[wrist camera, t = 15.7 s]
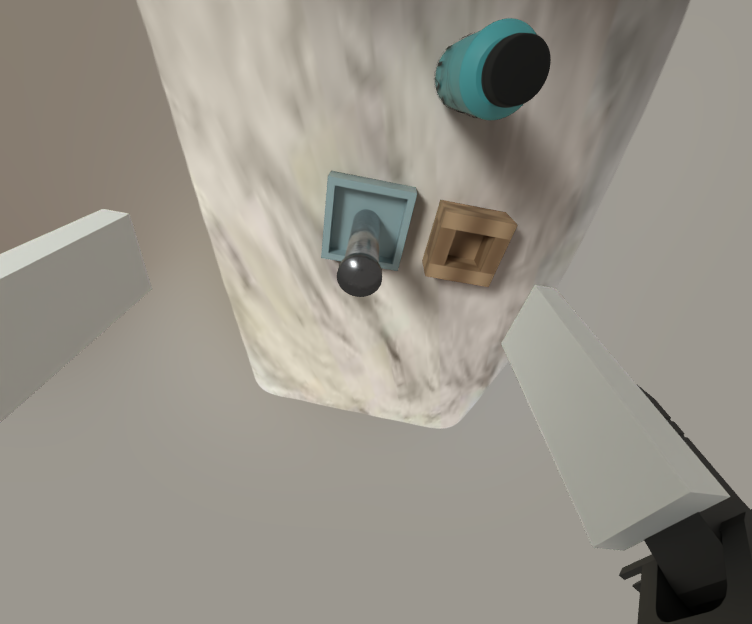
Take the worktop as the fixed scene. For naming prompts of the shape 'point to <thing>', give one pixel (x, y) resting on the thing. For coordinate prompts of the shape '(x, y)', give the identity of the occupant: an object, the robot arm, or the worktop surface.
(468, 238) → the socket block
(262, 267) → the worktop surface
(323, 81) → the worktop surface
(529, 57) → the beverage bottle
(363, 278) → the steel pin
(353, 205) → the tray
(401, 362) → the worktop surface
